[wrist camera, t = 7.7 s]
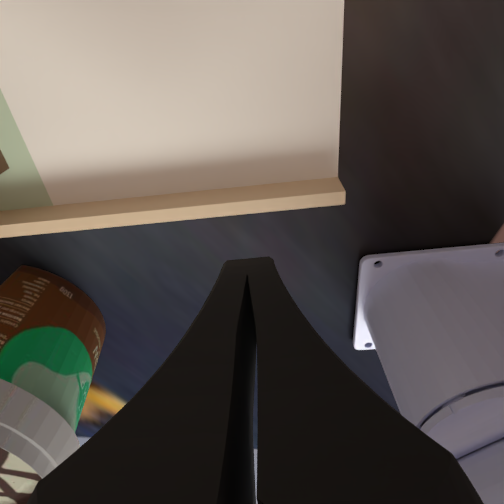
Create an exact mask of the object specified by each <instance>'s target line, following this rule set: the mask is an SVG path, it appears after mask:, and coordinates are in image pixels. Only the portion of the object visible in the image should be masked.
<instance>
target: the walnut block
mask: <svg viewBox="0 0 504 504" xmlns="http://www.w3.org/2000/svg"><path fill="white" fill-rule="evenodd" d="M8 169H9V166H8V164H7V162H6V160H5V158H4V156H3V154H2V152H1V150H0V174H2V173H3V172H5V171H6V170H8Z"/></svg>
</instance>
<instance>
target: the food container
mask: <svg viewBox="0 0 504 504" xmlns="http://www.w3.org/2000/svg"><path fill="white" fill-rule="evenodd" d="M105 333H106V328H105V322H104V319H103V316H102V314H101V312H100V310H99V308H98V307H97V306H96V304H95V303H94V302H93V301H92V299H91V298H89V297H88V296H87V295H86V294H85V293H84V292H83V291H82V290H80V289H79V288H78V287H76V286H75V285H74V284H72V283H70V282H69V281H67V280H65V279H63V278H61V277H59V276H57V275H55V274H53V273H50V272H48V271H45V270H42V269H39V268H35V267H31V266H26V265H21V266H20V267H19V268H18V269H17V270H16V271H15V272H14V273H13V274H12V275H11V276H10V277H9V278H8V279H7V280H6V281H5V282H4V283H3V284H2V285H0V504H26V503H27V502H28V500H29V498H30V496H31V494H32V492H33V490H34V488H35V486H36V484H37V483H38V482H39V481H40V480H41V479H43V478H44V477H45V476H46V475H48V474H49V473H50V472H51V471H52V470H54V469H55V468H56V467H57V466H58V465H60V464H61V463H62V462H63V461H64V460H66V459H67V458H68V457H69V456H70V455H71V454H73V453H74V452H75V451H76V450H77V449H79V448H80V445H79V441H78V439H77V437H76V434H75V431H76V428H77V425H78V421H79V418H80V415H81V412H82V409H83V406H84V402H85V399H86V396H87V393H88V390H89V387H90V383H91V380H92V377H93V374H94V371H95V368H96V364H97V361H98V358H99V355H100V352H101V348H102V345H103V342H104V339H105Z"/></svg>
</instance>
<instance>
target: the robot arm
mask: <svg viewBox="0 0 504 504" xmlns="http://www.w3.org/2000/svg"><path fill="white" fill-rule="evenodd" d="M498 250H500V251H499V252H498V253H496V252H497V251H498ZM376 261H380V262H379V263H378V264H374V263H375V262H376ZM256 343H257V371H258V453H257V501H258V504H504V243H493V244H482V245H471V246H461V247H450V248H439V249H428V250H417V251H406V252H395V253H384V254H374V255H366V256H364V257H362V259H361V260H360V262H359V274H358V286H357V298H356V309H355V321H354V333H353V346H354V348H355V349H357V350H367V349H376V351H377V354H378V356H379V359H380V361H381V364H382V366H383V369H384V372H385V374H386V377H387V379H388V382H389V385H390V387H391V390H392V392H393V395H394V397H395V400H396V403H397V405H398V408H399V410H400V413H401V414H400V413H399V412H397V411H396V410H395V409H394V408H393V407H391V406H390V405H389V404H388V403H387V402H385V401H384V400H383V399H382V398H381V397H380V396H378V395H377V394H376V393H375V392H374V391H373V390H372V389H371V388H370V387H369V386H368V385H367V384H365V383H364V382H363V381H362V380H361V379H360V378H359V377H358V376H357V375H356V374H355V373H354V372H353V371H351V370H350V369H349V368H348V367H347V366H346V365H345V363H344V362H343V361H342V360H341V359H340V358H339V357H338V356H337V355H336V354H335V353H334V352H333V351H332V350H331V349H330V347H329V346H328V345H327V344H326V343H325V342H324V341H323V339H322V338H321V337H320V336H319V335H318V333H317V332H316V331H315V330H314V328H313V327H312V326H311V324H310V323H309V322H308V320H307V319H306V318H305V316H304V315H303V314H302V312H301V311H300V309H299V308H298V307H297V305H296V303H295V302H294V300H293V299H292V297H291V296H290V294H289V292H288V291H287V289H286V287H285V286H284V284H283V282H282V280H281V278H280V276H279V274H278V272H277V269H276V267H275V264H274V260H273V259H272V258H270V257H260V258H249V259H239V260H228V261H226V262H225V263H224V264H223V267H222V269H221V272H220V274H219V276H218V279H217V281H216V283H215V285H214V287H213V289H212V291H211V292H210V294H209V296H208V298H207V300H206V301H205V303H204V305H203V307H202V308H201V310H200V312H199V314H198V315H197V317H196V318H195V320H194V321H193V323H192V324H191V326H190V327H189V329H188V330H187V332H186V334H185V335H184V336H183V338H182V339H181V341H180V342H179V343H178V345H177V346H176V347H175V349H174V350H173V351H172V353H171V354H170V355H169V357H168V358H167V359H166V360H165V362H164V363H163V364H162V365H161V367H160V368H159V369H158V370H157V371H156V372H155V373H154V375H153V376H152V377H151V378H150V379H149V380H148V381H147V383H146V384H145V385H144V386H143V387H142V388H141V389H140V390H139V391H138V393H137V394H136V395H135V396H134V397H133V398H132V399H131V400H130V401H129V402H128V403H127V404H126V405H125V406H124V407H123V408H122V409H121V410H120V411H119V412H118V413H117V414H116V415H114V416H113V417H112V418H111V419H110V420H109V421H108V422H107V423H106V424H105V425H104V426H103V427H102V428H101V429H100V430H99V431H98V432H97V433H96V434H95V435H94V436H92V437H91V438H90V439H89V440H88V441H87V442H86V443H85V444H83V445H82V446H81V447H80V448H79V449H77V450H76V451H75V452H74V453H73V454H71V455H70V456H69V457H68V458H67V459H66V460H64V461H63V462H62V463H61V464H60V465H58V466H57V467H56V468H55V469H54V470H52V471H51V472H50V473H49V474H48V475H46V476H45V477H44V478H43V479H41V480H40V481H39V482H38V483H37V484H36V486H35V488H34V490H33V492H32V494H31V496H30V498H29V500H28V502H27V503H26V504H256V497H255V475H254V449H253V404H254V384H255V364H256Z"/></svg>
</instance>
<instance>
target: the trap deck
mask: <svg viewBox="0 0 504 504" xmlns="http://www.w3.org/2000/svg"><path fill="white" fill-rule="evenodd" d="M343 21H344V0H0V150H1V152H2V154H3V156H4V158H5V160H6V162H7V164H8V166H9V169H8V170H6V171H5V172H3V173H2V174H0V238H5V237H16V236H26V235H36V234H46V233H57V232H67V231H77V230H87V229H98V228H108V227H118V226H128V225H139V224H149V223H159V222H169V221H180V220H190V219H200V218H210V217H221V216H231V215H241V214H251V213H262V212H272V211H282V210H292V209H303V208H313V207H323V206H333V205H344V204H345V195H346V191H345V189H344V187H343V186H342V184H341V182H340V180H339V178H338V157H339V130H340V103H341V76H342V49H343Z"/></svg>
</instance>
